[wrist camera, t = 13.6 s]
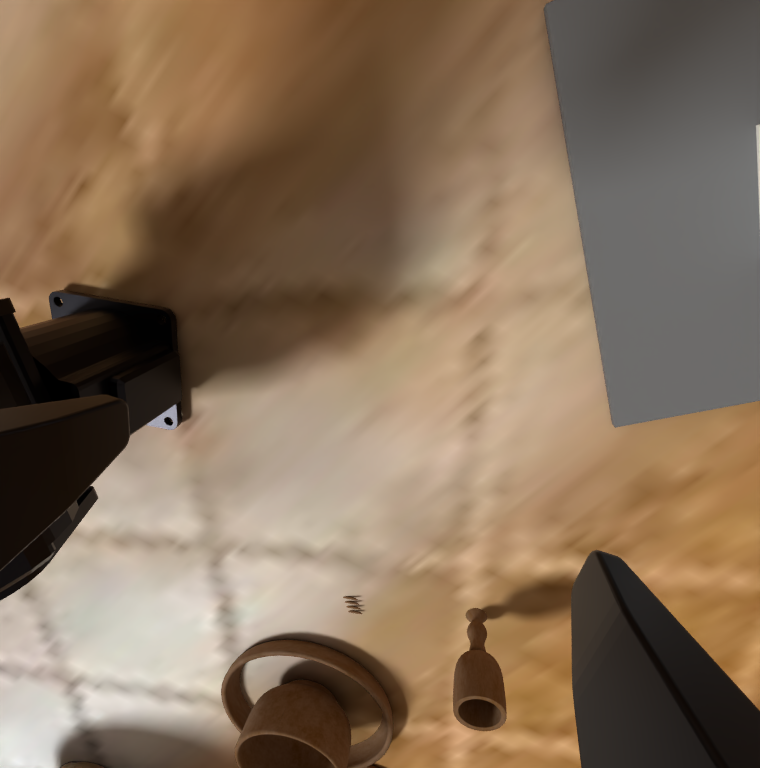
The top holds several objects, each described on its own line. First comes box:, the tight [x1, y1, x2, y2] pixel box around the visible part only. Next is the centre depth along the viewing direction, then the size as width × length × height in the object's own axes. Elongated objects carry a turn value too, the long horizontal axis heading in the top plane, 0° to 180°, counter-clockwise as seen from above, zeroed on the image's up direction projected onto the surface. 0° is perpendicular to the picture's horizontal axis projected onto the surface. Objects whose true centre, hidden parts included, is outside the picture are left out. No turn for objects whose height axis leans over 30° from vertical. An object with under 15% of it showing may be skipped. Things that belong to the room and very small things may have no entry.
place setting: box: [221, 596, 506, 768], centre depth 27 cm, size 18×20×6 cm
